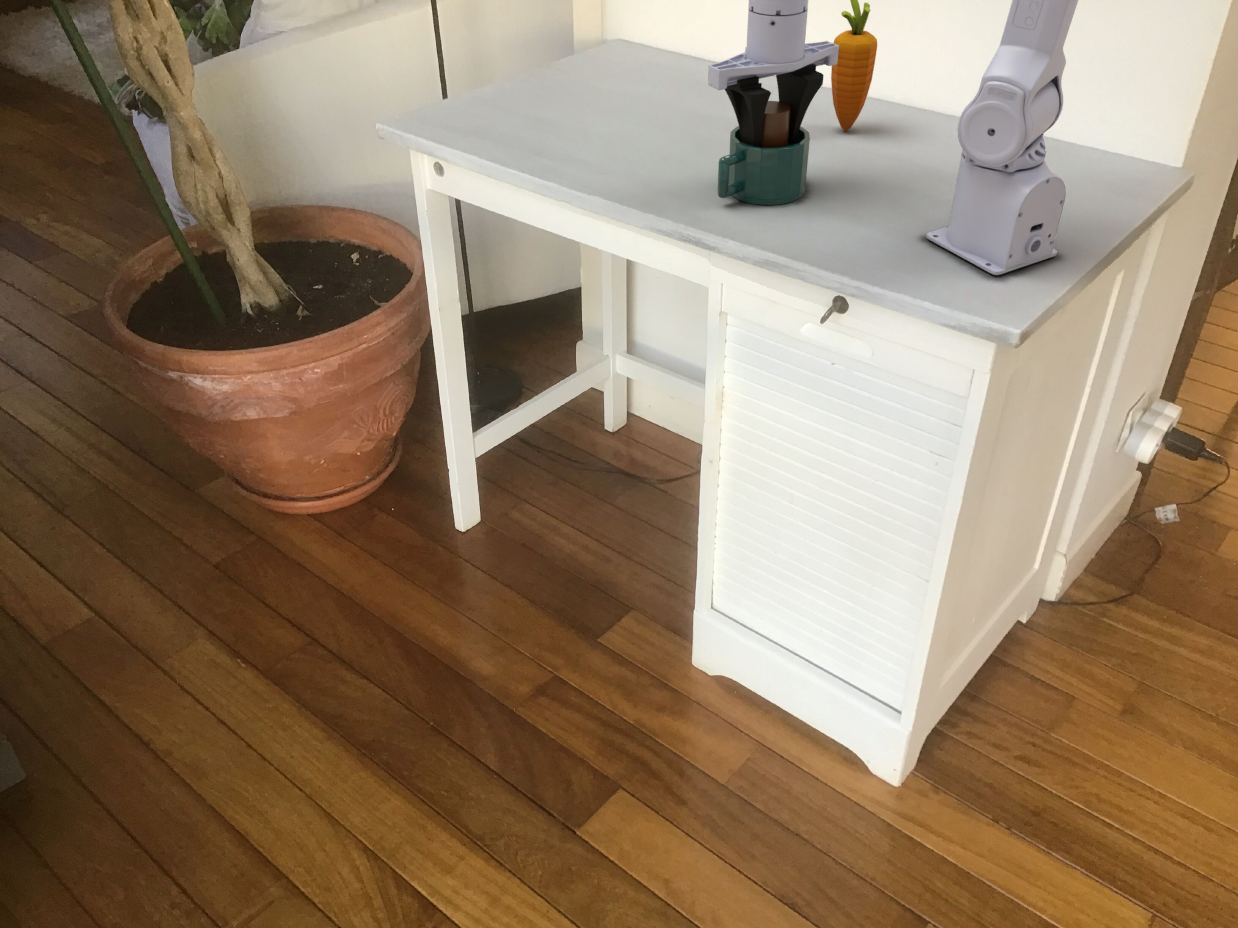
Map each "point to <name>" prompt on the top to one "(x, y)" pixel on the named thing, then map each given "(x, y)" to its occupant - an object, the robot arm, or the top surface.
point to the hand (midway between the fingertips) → (769, 145)
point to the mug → (764, 171)
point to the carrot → (853, 66)
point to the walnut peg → (775, 125)
